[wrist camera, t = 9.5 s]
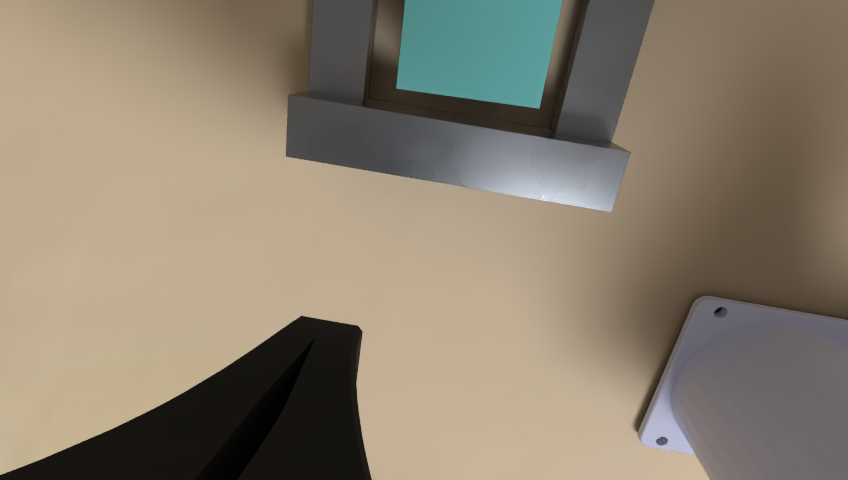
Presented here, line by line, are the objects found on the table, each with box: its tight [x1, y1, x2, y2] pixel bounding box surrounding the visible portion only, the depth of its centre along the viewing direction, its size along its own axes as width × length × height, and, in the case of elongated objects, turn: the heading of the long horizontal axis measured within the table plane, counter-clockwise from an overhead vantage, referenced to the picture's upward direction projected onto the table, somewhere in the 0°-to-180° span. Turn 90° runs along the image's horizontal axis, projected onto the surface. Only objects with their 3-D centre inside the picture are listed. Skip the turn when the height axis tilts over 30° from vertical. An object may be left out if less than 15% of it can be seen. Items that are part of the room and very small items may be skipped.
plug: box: [396, 0, 563, 109], centre depth 13 cm, size 4×4×6 cm
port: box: [286, 0, 655, 212], centre depth 15 cm, size 11×9×3 cm
